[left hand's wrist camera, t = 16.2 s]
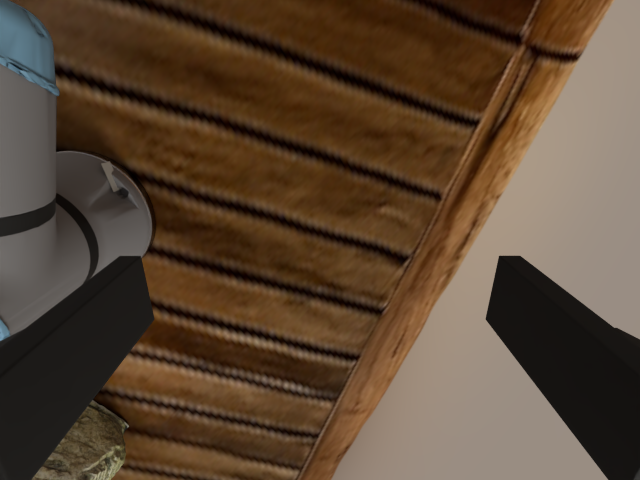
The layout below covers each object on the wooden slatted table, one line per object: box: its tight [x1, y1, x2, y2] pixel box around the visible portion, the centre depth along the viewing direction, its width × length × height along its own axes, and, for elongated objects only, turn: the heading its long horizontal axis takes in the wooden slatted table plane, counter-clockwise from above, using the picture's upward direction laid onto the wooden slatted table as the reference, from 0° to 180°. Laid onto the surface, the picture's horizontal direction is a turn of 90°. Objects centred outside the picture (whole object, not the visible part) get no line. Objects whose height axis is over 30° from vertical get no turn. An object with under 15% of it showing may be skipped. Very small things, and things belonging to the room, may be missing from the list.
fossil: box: [32, 400, 129, 480], centre depth 46 cm, size 9×18×15 cm, turn 65°
